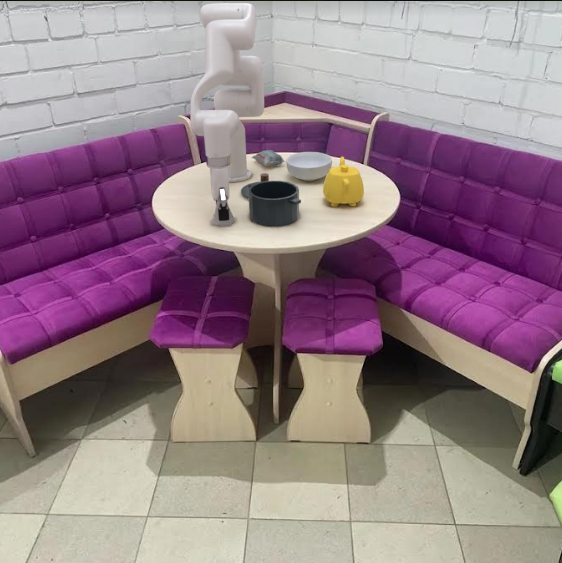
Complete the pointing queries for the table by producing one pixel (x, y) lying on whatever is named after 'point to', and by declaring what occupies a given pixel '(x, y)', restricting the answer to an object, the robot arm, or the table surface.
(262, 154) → the packaged food
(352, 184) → the teapot
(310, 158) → the cereal bowl
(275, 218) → the pot
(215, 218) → the flask
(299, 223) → the table surface
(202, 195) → the table surface
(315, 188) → the table surface
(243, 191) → the pot lid
